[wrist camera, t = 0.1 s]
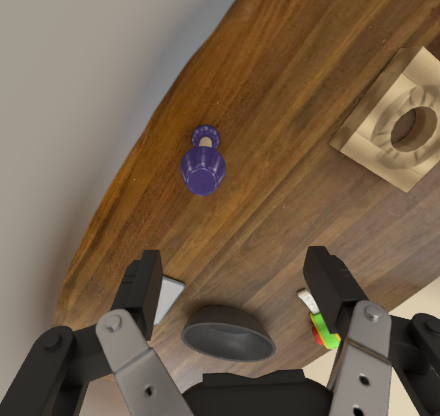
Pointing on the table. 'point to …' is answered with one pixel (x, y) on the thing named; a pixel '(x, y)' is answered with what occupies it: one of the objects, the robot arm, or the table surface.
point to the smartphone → (167, 297)
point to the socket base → (389, 114)
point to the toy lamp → (203, 162)
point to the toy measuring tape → (319, 323)
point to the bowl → (227, 335)
